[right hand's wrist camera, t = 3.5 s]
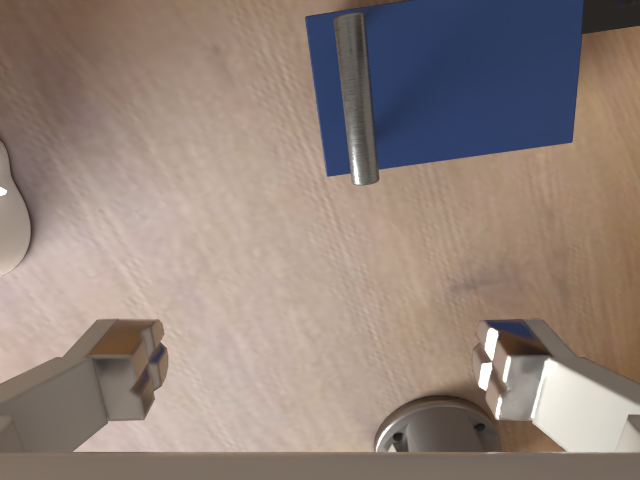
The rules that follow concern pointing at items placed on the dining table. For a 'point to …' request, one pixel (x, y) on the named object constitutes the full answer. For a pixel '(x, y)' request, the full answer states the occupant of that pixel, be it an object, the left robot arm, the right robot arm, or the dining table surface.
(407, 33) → the lid
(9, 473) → the right robot arm
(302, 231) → the dining table surface
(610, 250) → the dining table surface
